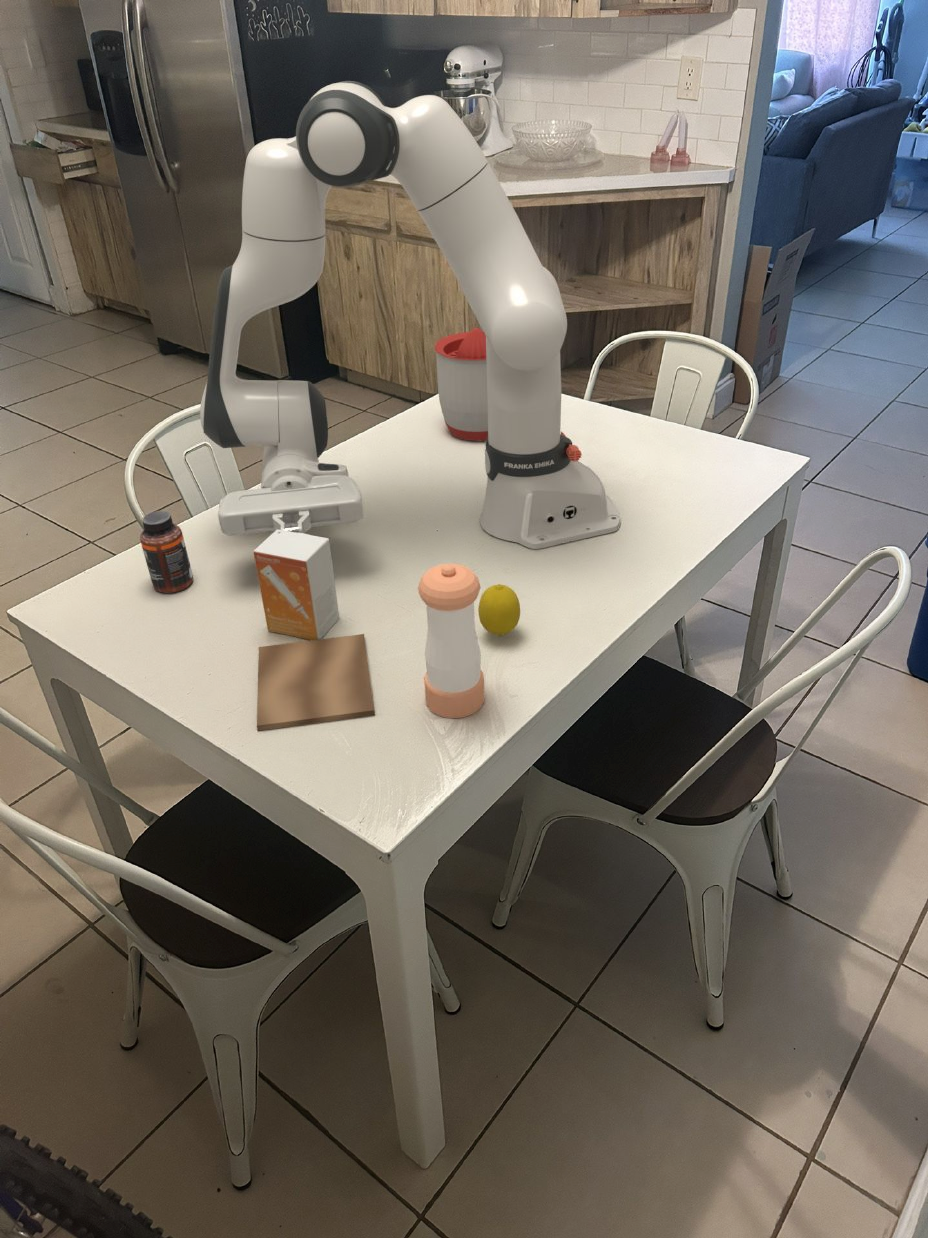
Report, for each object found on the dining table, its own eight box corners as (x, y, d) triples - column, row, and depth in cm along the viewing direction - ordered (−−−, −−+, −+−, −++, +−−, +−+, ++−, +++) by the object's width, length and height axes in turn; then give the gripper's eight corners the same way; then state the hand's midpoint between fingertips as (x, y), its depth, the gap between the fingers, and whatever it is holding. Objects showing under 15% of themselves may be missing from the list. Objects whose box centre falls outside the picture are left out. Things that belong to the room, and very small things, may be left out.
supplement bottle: (201, 576, 139) (186, 510, 133) (179, 597, 135) (162, 529, 128) (168, 570, 141) (151, 504, 134) (145, 591, 136) (126, 524, 130)
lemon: (516, 649, 122) (516, 598, 117) (475, 645, 123) (474, 594, 118) (523, 625, 126) (523, 575, 121) (483, 621, 127) (481, 572, 122)
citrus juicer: (499, 455, 170) (498, 348, 159) (423, 436, 178) (416, 333, 167) (541, 425, 181) (542, 323, 170) (467, 409, 189) (463, 310, 178)
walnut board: (364, 638, 125) (364, 633, 124) (374, 715, 112) (374, 710, 111) (259, 651, 123) (258, 647, 122) (257, 730, 110) (256, 725, 109)
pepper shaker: (416, 711, 112) (404, 577, 101) (438, 675, 117) (430, 545, 106) (472, 724, 110) (467, 589, 99) (492, 687, 115) (490, 555, 104)
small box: (267, 632, 127) (251, 550, 119) (290, 607, 131) (276, 527, 124) (319, 643, 124) (306, 560, 117) (341, 618, 129) (330, 536, 121)
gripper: (216, 477, 134) (210, 523, 123) (356, 463, 137) (363, 506, 126) (224, 516, 138) (219, 563, 127) (360, 501, 140) (367, 546, 129)
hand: (292, 535), depth 126 cm, fingers closed
